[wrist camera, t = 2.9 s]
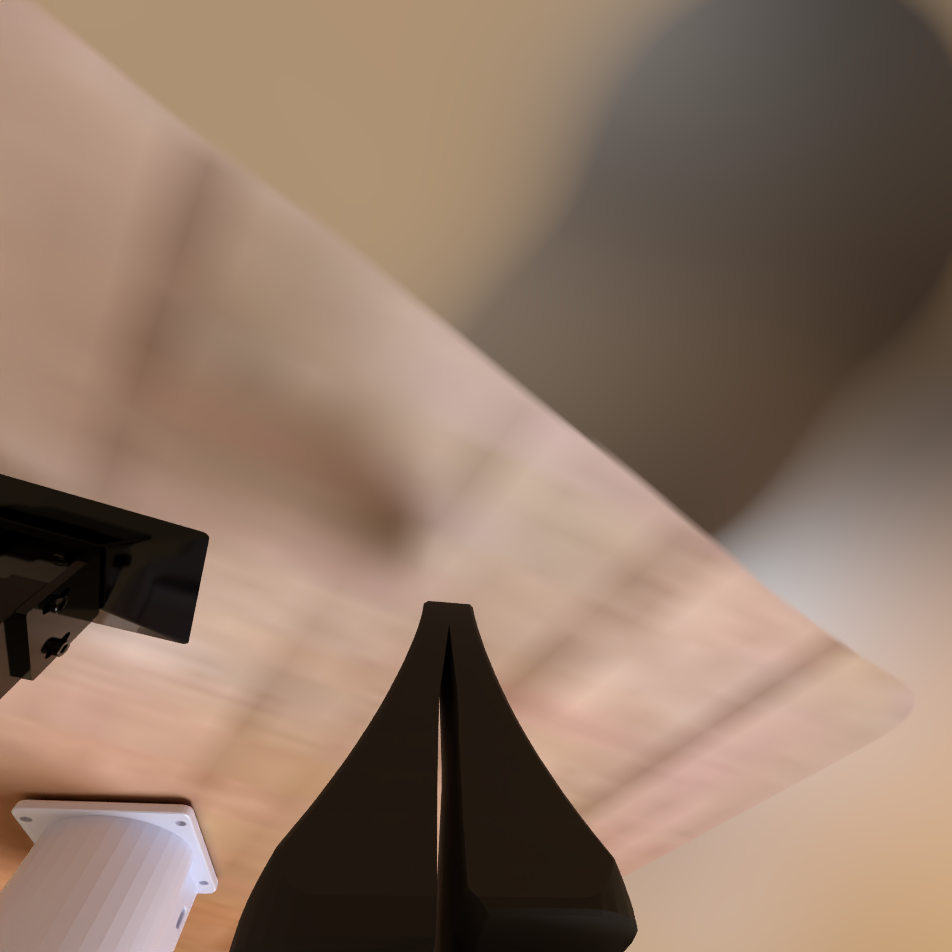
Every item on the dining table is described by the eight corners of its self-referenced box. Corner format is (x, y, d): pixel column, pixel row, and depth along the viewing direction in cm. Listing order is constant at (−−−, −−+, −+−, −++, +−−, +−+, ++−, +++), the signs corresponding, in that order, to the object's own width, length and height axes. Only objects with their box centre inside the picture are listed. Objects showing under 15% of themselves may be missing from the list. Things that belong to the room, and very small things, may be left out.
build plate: (-144, 562, 14) (-386, 687, 10) (-205, 365, 11) (-587, 431, 7) (233, 655, 17) (158, 784, 13) (267, 515, 14) (183, 626, 10)
